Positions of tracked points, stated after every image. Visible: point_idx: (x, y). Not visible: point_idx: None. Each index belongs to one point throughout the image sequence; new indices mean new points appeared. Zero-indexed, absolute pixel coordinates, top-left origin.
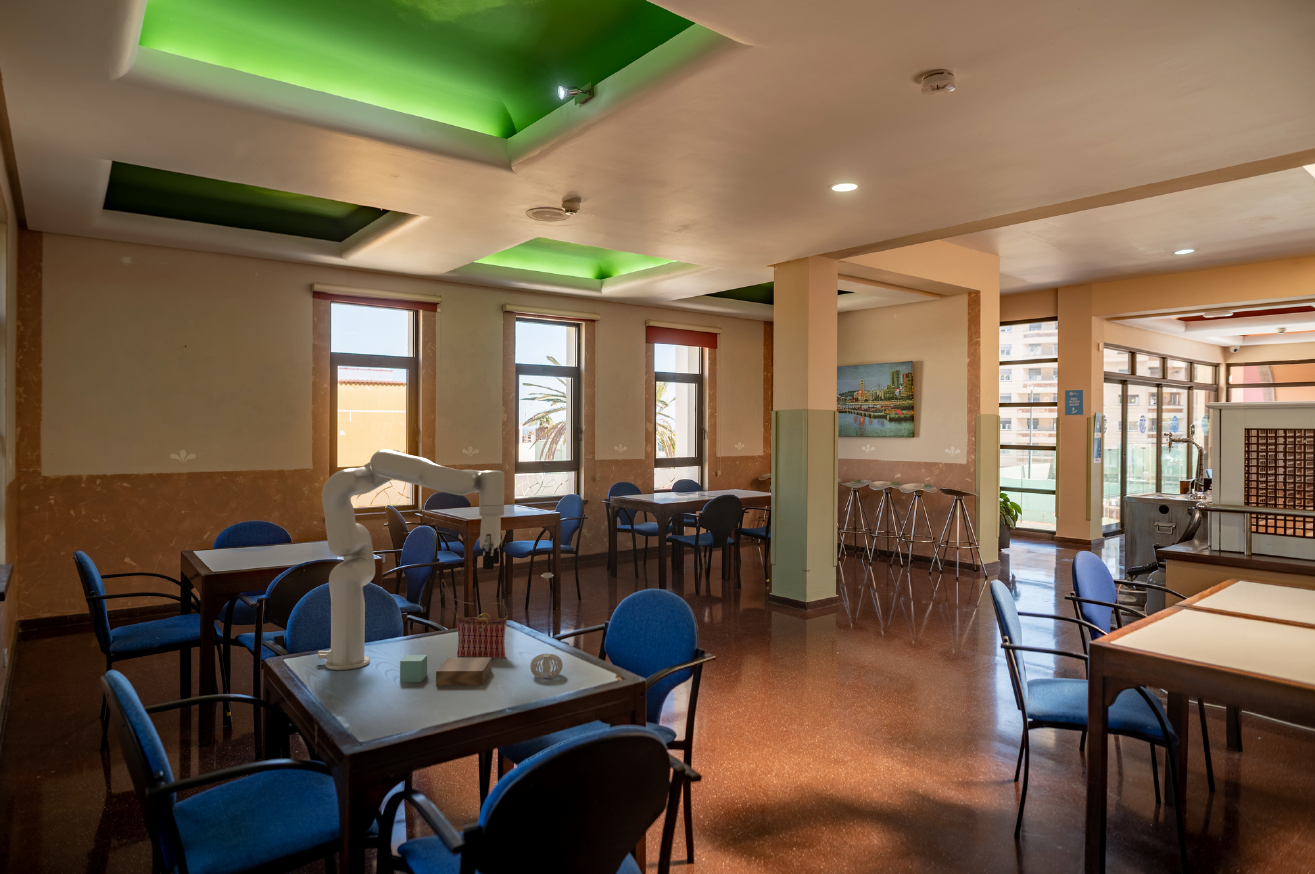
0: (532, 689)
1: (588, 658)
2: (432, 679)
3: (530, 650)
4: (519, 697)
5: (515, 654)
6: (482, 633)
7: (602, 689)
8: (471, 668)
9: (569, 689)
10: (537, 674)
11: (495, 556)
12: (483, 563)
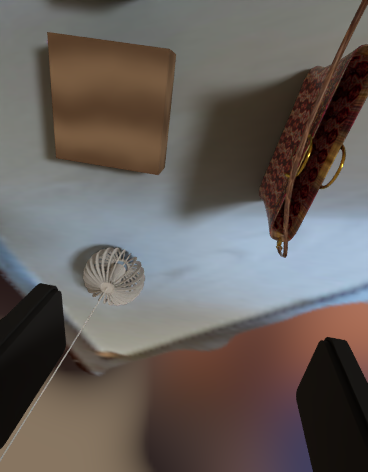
0: (52, 239)
1: (215, 337)
2: (111, 20)
3: (305, 252)
4: (12, 217)
5: None
6: (290, 153)
7: None
8: (73, 130)
9: None
10: (119, 254)
11: (320, 443)
12: (11, 314)
